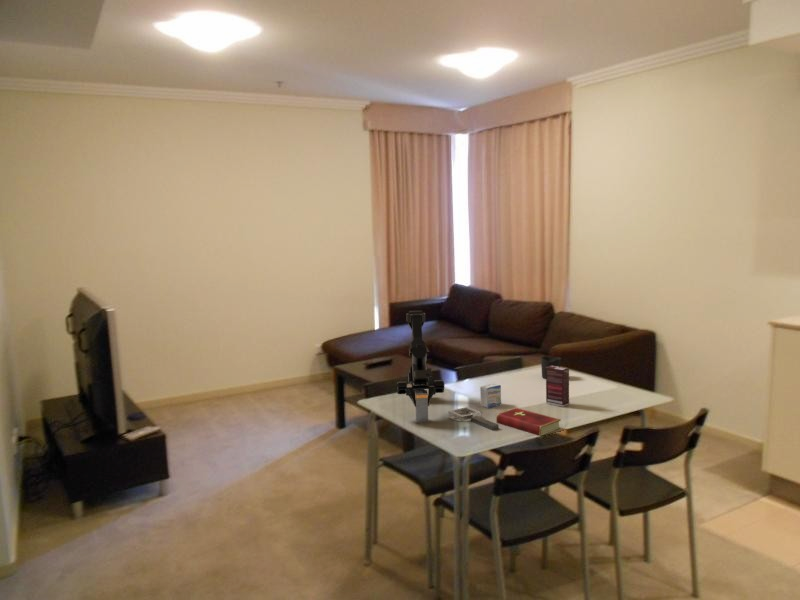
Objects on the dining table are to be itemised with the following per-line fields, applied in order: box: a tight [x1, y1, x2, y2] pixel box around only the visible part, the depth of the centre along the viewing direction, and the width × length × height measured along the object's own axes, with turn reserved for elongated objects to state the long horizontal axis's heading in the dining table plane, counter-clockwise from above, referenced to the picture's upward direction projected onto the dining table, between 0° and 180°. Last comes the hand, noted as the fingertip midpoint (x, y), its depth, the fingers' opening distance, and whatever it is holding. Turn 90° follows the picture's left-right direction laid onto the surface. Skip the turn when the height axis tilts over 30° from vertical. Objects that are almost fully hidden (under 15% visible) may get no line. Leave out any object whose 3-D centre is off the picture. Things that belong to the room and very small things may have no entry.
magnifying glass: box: [447, 406, 500, 431], centre depth 237 cm, size 25×12×2 cm, turn 31°
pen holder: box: [540, 355, 562, 380], centre depth 299 cm, size 9×9×10 cm
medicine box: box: [479, 383, 502, 409], centre depth 257 cm, size 8×4×9 cm, turn 123°
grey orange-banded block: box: [415, 389, 429, 424], centre depth 238 cm, size 5×5×12 cm
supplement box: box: [545, 366, 570, 408], centre depth 255 cm, size 9×5×16 cm, turn 44°
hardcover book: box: [495, 407, 561, 437], centre depth 230 cm, size 12×21×4 cm, turn 40°
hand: (421, 406), depth 237 cm, fingers closed on grey orange-banded block, 5 cm apart
